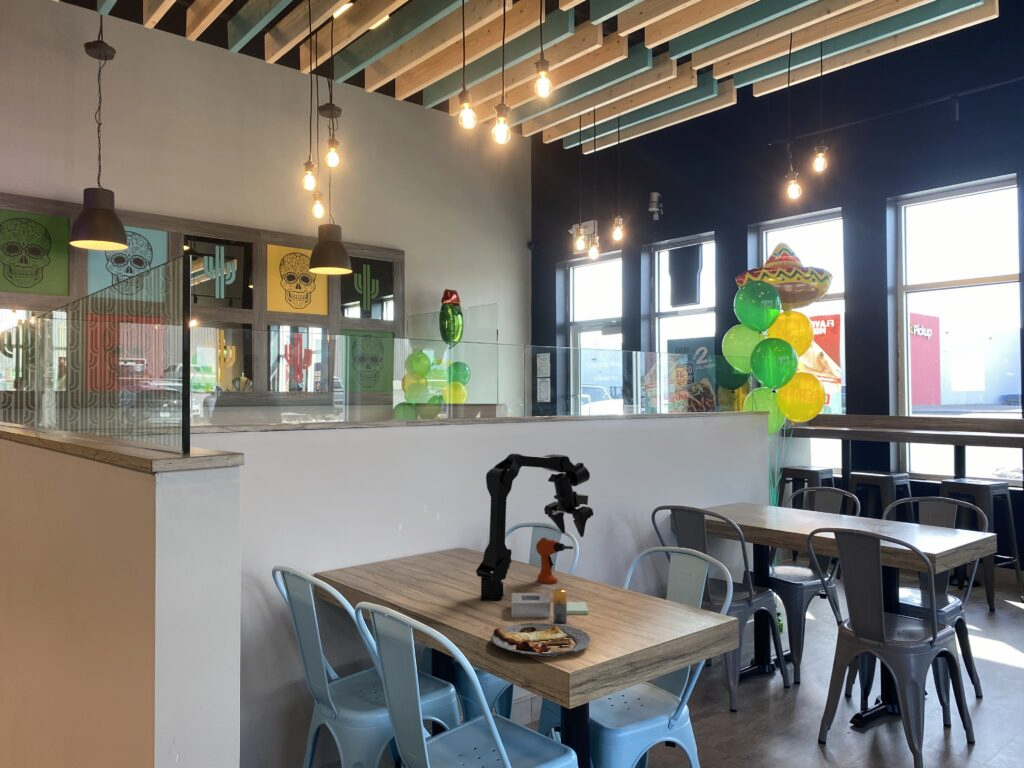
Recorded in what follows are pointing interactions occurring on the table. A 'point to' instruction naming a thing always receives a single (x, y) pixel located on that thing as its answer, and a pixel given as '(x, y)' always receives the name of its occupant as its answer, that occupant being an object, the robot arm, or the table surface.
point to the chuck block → (530, 605)
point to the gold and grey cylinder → (560, 606)
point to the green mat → (577, 608)
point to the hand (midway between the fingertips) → (572, 534)
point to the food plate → (539, 638)
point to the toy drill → (548, 558)
